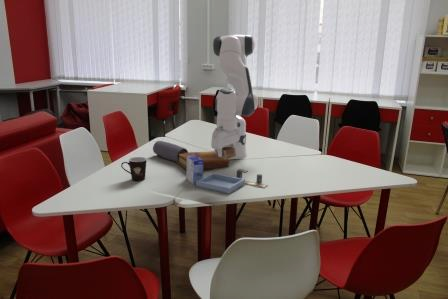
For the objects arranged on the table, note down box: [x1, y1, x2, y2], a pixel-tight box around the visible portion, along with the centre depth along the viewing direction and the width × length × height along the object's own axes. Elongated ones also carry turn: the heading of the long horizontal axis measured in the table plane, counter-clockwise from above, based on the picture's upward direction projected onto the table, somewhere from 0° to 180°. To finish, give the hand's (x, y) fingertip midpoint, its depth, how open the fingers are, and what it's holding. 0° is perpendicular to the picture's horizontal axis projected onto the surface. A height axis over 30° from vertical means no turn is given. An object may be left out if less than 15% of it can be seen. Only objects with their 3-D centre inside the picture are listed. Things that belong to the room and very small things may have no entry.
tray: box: [195, 172, 246, 195], centre depth 181 cm, size 18×15×3 cm
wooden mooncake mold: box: [213, 146, 236, 160], centre depth 178 cm, size 12×7×4 cm, turn 40°
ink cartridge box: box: [186, 151, 204, 186], centre depth 186 cm, size 10×6×14 cm, turn 26°
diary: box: [175, 150, 230, 171], centre depth 209 cm, size 23×19×6 cm
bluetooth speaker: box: [152, 140, 189, 163], centre depth 220 cm, size 23×9×10 cm, turn 46°
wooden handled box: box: [236, 168, 269, 189], centre depth 187 cm, size 18×9×5 cm, turn 59°
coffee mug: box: [120, 156, 148, 182], centre depth 189 cm, size 12×9×10 cm
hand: (225, 154), depth 176 cm, fingers closed on wooden mooncake mold, 8 cm apart
